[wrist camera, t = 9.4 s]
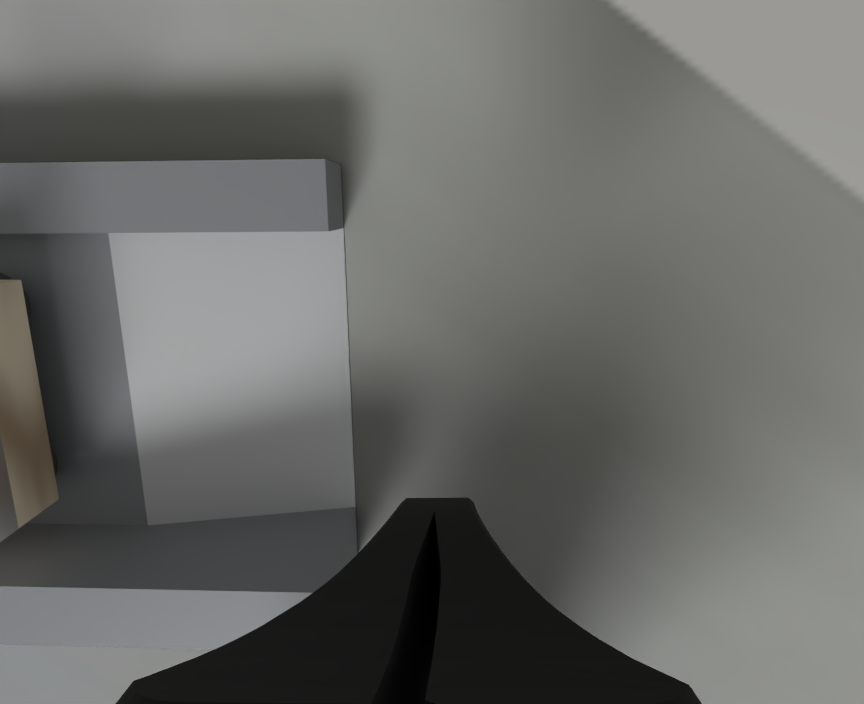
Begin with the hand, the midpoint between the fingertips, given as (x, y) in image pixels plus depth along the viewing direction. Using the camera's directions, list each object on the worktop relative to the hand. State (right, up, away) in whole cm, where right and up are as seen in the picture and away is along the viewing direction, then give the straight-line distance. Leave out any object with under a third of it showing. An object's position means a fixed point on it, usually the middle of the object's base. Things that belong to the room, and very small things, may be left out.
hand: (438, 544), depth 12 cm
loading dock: (-13, +3, +10) cm, 17 cm away
